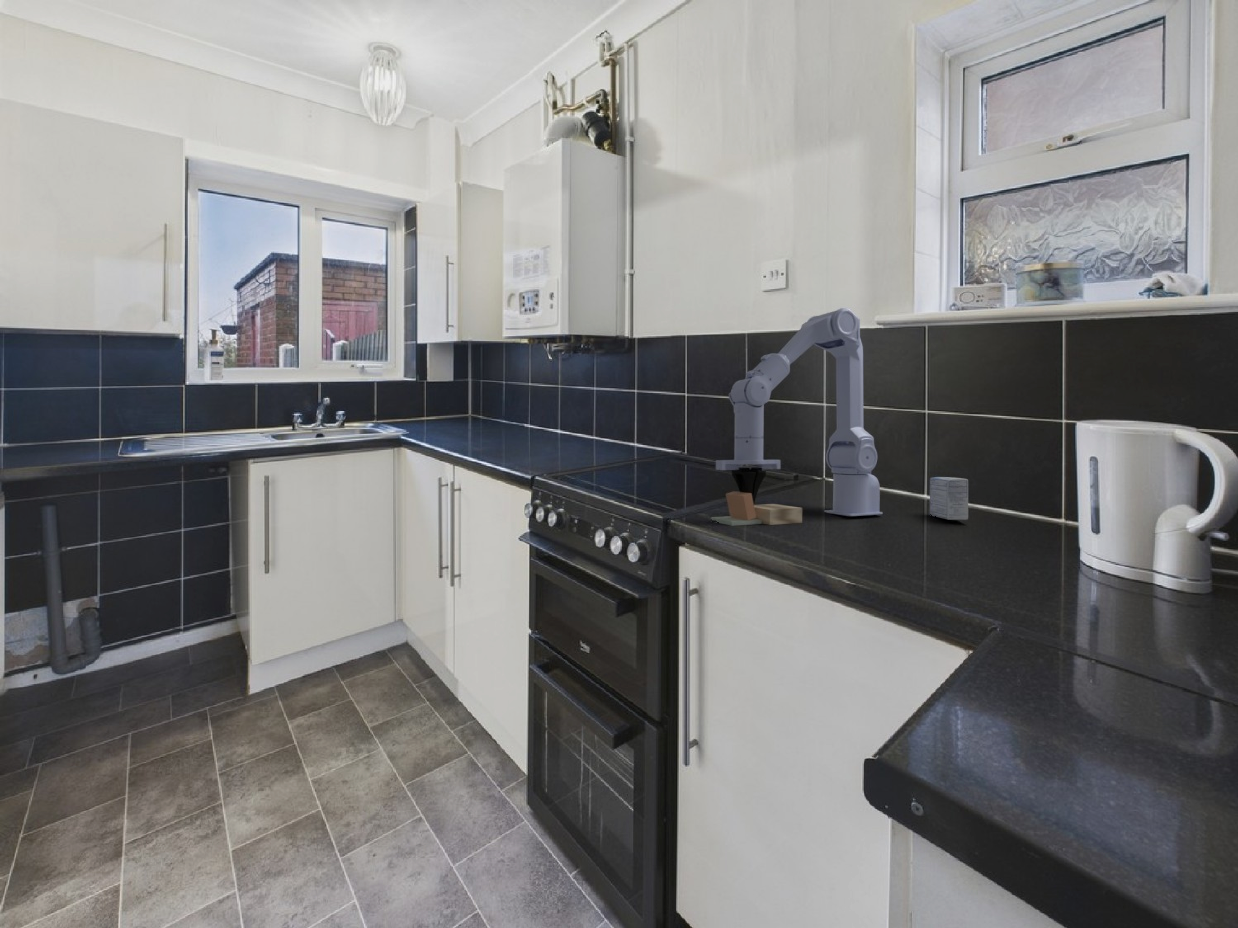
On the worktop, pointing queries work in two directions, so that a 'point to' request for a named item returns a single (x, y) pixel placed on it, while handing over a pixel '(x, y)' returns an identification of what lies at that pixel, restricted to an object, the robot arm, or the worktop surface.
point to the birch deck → (778, 514)
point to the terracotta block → (741, 505)
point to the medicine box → (949, 498)
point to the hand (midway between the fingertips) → (748, 505)
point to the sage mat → (736, 521)
